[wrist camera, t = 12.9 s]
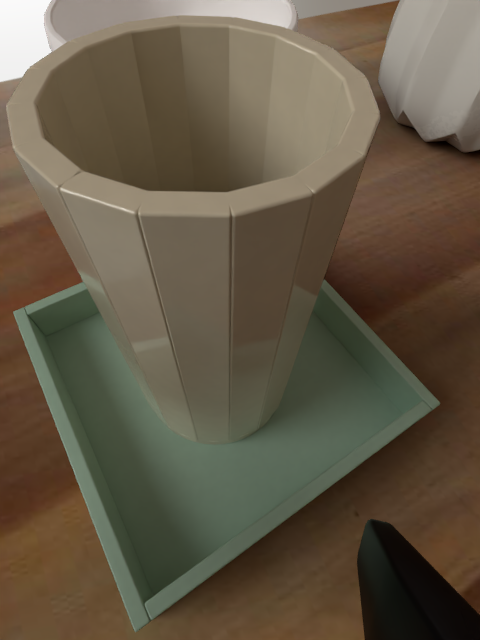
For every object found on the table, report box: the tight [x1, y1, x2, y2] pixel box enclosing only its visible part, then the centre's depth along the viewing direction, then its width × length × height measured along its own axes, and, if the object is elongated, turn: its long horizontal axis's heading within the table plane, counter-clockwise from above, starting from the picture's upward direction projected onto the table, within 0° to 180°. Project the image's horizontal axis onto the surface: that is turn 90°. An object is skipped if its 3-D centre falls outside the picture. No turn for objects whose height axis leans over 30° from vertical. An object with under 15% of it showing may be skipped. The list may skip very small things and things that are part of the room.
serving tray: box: [13, 279, 440, 632], centre depth 17 cm, size 13×13×2 cm
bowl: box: [44, 0, 298, 52], centre depth 25 cm, size 14×14×8 cm
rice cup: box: [6, 15, 380, 445], centre depth 12 cm, size 6×6×12 cm
